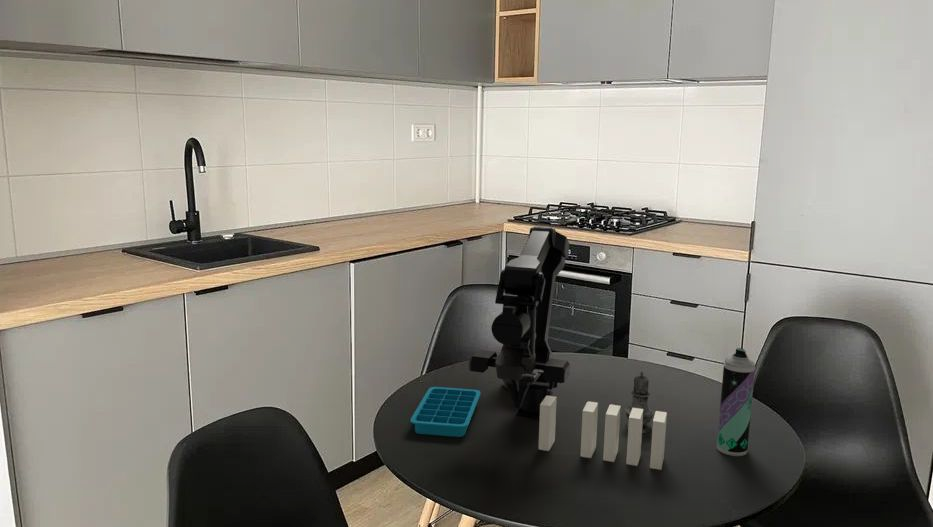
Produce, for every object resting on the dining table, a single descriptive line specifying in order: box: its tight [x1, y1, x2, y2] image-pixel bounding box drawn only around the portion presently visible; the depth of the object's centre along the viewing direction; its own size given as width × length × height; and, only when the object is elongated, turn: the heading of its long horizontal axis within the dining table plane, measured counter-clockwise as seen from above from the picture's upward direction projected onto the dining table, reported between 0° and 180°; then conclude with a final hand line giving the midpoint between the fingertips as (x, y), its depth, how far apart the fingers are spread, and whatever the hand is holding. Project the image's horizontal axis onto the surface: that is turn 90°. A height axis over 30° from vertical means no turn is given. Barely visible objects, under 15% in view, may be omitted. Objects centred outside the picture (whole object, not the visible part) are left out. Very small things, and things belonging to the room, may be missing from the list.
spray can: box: [716, 347, 756, 457], centre depth 136 cm, size 6×6×20 cm
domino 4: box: [625, 408, 643, 467], centre depth 132 cm, size 2×5×9 cm, turn 160°
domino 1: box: [538, 395, 558, 452], centre depth 138 cm, size 2×5×9 cm, turn 160°
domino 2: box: [580, 400, 599, 459], centre depth 135 cm, size 2×5×9 cm, turn 160°
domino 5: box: [649, 410, 668, 471], centre depth 131 cm, size 2×5×9 cm, turn 160°
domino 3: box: [602, 403, 622, 463], centre depth 133 cm, size 2×5×9 cm, turn 160°
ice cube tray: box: [409, 386, 482, 438], centre depth 151 cm, size 12×20×3 cm, turn 171°
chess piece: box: [624, 371, 655, 434], centre depth 146 cm, size 6×6×12 cm
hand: (518, 408), depth 139 cm, fingers closed
